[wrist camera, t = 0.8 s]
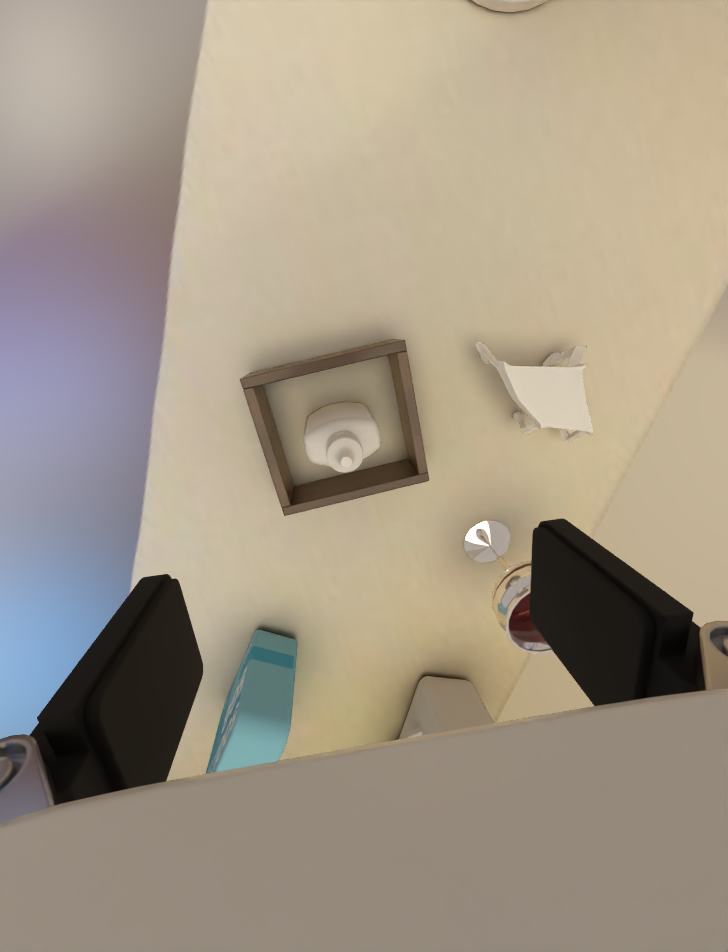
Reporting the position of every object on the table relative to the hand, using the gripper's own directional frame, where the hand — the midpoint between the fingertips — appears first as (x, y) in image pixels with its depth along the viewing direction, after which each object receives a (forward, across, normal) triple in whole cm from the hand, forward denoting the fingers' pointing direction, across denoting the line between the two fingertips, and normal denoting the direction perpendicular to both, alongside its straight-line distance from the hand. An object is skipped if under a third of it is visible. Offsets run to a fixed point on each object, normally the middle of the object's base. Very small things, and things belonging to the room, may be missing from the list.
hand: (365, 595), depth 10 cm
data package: (+28, +11, +27) cm, 40 cm away
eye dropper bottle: (+27, 0, +1) cm, 27 cm away
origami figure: (+27, -17, -1) cm, 32 cm away
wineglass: (+27, -14, +15) cm, 34 cm away
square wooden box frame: (+27, 0, +1) cm, 27 cm away
